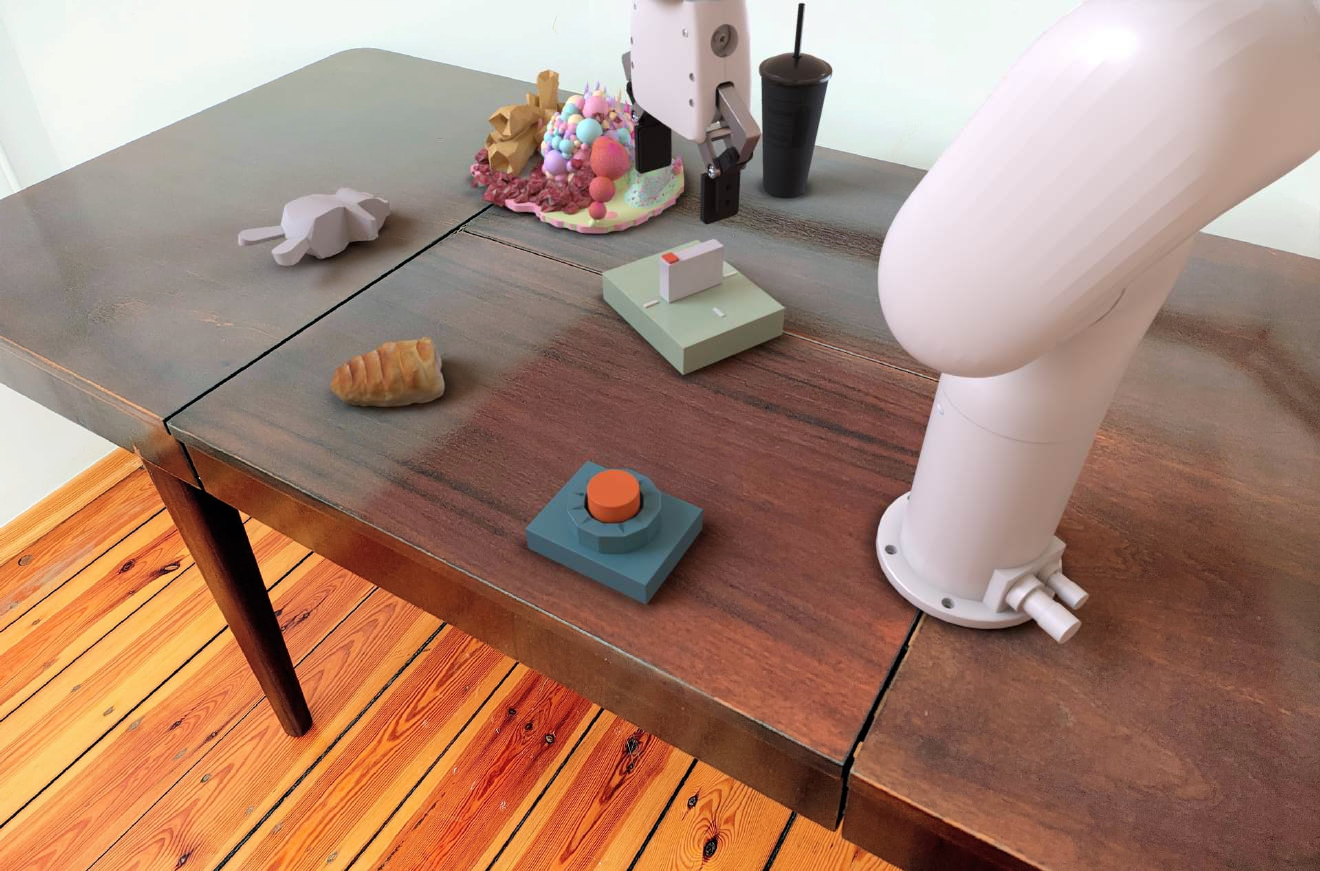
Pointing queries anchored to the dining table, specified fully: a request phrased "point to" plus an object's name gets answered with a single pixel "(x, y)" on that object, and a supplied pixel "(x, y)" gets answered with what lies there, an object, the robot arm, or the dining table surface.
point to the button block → (616, 535)
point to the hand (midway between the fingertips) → (685, 192)
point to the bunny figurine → (322, 225)
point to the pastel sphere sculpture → (572, 162)
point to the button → (613, 496)
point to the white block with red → (691, 270)
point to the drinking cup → (791, 115)
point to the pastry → (391, 375)
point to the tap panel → (693, 313)
